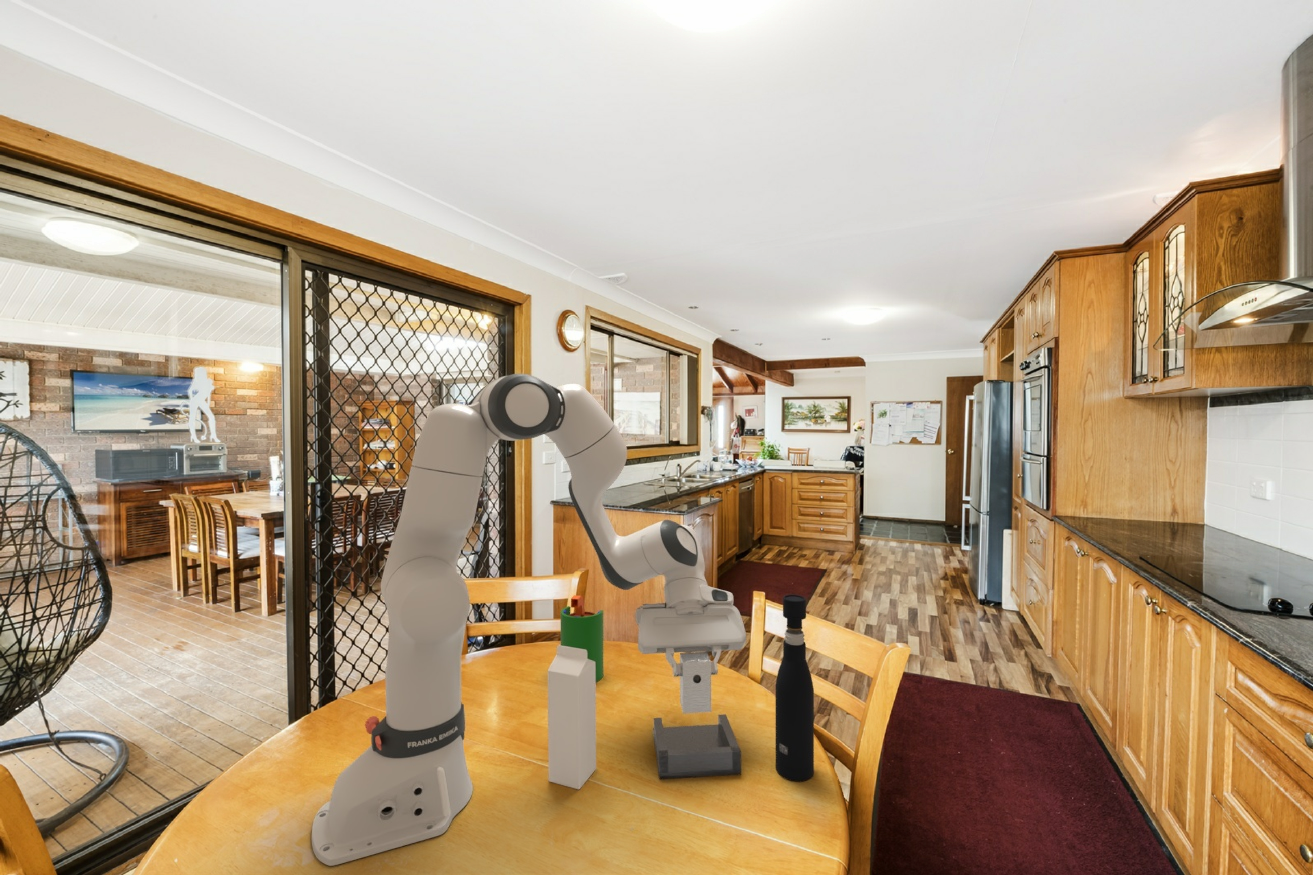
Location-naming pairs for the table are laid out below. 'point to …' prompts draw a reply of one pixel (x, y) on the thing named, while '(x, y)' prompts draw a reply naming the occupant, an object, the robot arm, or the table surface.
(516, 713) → the table surface
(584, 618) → the green pencil holder
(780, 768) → the black water bottle
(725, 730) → the bracket
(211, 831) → the table surface
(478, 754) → the table surface
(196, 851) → the table surface
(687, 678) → the block
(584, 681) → the milk
